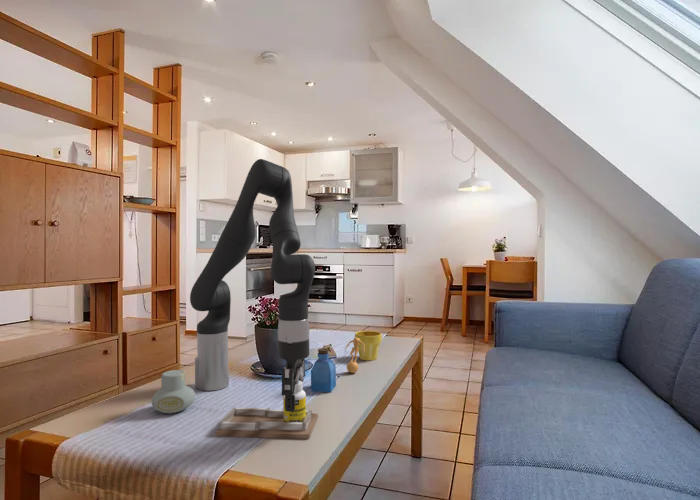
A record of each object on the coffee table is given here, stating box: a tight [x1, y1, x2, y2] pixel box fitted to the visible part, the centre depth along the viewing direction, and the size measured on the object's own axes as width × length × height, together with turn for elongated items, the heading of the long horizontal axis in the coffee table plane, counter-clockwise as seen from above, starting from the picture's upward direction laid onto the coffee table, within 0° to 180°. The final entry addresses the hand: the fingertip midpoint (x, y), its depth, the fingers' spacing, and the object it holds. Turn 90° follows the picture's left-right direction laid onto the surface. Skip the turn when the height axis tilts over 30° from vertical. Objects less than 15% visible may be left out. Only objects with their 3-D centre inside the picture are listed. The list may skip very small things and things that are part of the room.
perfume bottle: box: [310, 347, 337, 393], centre depth 131 cm, size 6×6×12 cm
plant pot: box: [354, 330, 383, 362], centre depth 165 cm, size 10×10×10 cm
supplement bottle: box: [282, 381, 307, 423], centre depth 104 cm, size 5×5×10 cm
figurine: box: [344, 336, 365, 374], centre depth 148 cm, size 8×6×12 cm
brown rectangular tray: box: [215, 407, 319, 440], centre depth 104 cm, size 22×12×2 cm, turn 85°
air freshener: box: [150, 369, 196, 414], centre depth 116 cm, size 11×8×10 cm
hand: (294, 403), depth 104 cm, fingers open, 8 cm apart
